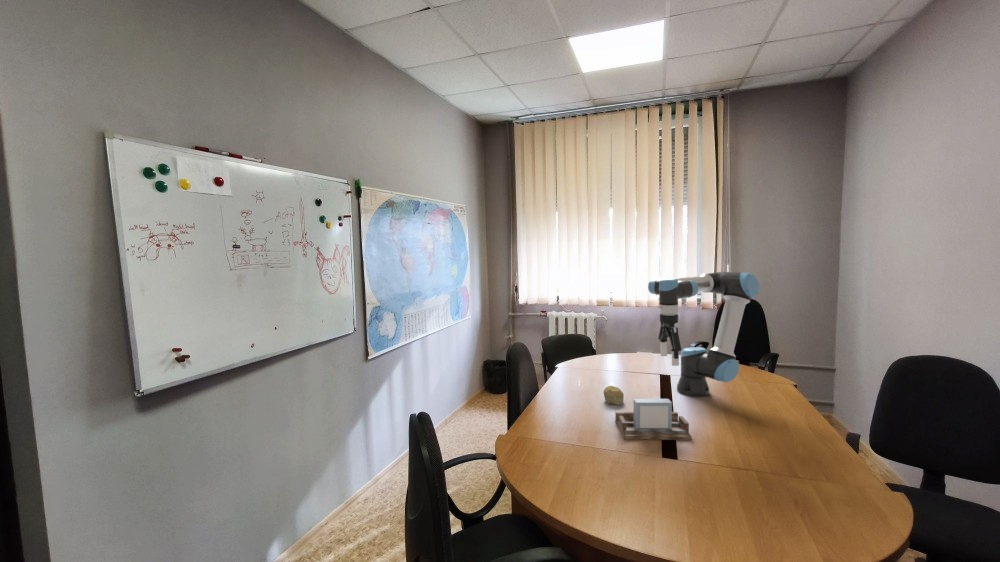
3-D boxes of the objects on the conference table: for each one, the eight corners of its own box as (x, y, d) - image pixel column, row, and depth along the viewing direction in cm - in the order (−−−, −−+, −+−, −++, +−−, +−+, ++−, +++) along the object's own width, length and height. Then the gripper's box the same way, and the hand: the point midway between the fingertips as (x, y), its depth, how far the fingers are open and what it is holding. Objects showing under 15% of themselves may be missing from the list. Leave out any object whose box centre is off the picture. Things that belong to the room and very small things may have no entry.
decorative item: (623, 408, 193) (620, 388, 198) (626, 403, 184) (623, 382, 190) (603, 408, 193) (601, 388, 199) (606, 403, 185) (603, 382, 190)
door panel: (668, 426, 161) (668, 398, 160) (671, 431, 157) (672, 402, 156) (633, 426, 162) (633, 398, 161) (636, 431, 158) (636, 402, 157)
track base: (676, 421, 168) (676, 409, 168) (691, 440, 152) (691, 426, 152) (615, 421, 170) (615, 409, 170) (624, 439, 155) (624, 426, 154)
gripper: (650, 309, 183) (651, 352, 185) (670, 319, 159) (671, 370, 161) (667, 308, 183) (667, 352, 185) (689, 319, 158) (690, 369, 160)
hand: (669, 360), depth 173 cm, fingers open, 13 cm apart
